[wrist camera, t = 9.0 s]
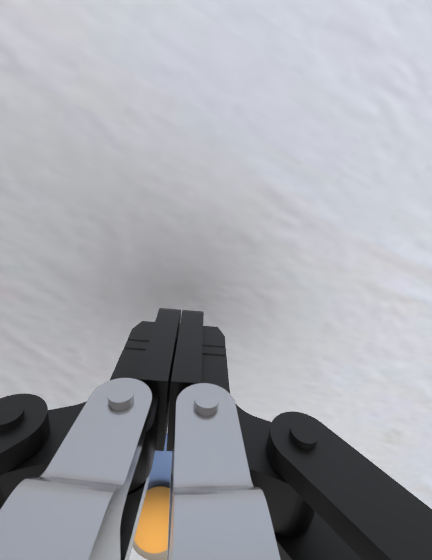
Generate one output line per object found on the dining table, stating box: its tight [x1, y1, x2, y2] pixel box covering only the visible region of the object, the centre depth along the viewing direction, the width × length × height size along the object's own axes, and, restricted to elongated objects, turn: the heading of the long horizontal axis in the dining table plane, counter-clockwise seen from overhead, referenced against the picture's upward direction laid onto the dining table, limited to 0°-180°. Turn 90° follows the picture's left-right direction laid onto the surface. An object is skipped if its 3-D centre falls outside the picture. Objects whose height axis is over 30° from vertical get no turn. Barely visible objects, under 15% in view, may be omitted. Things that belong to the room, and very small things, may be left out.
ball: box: [134, 486, 170, 554], centre depth 31 cm, size 6×6×6 cm
